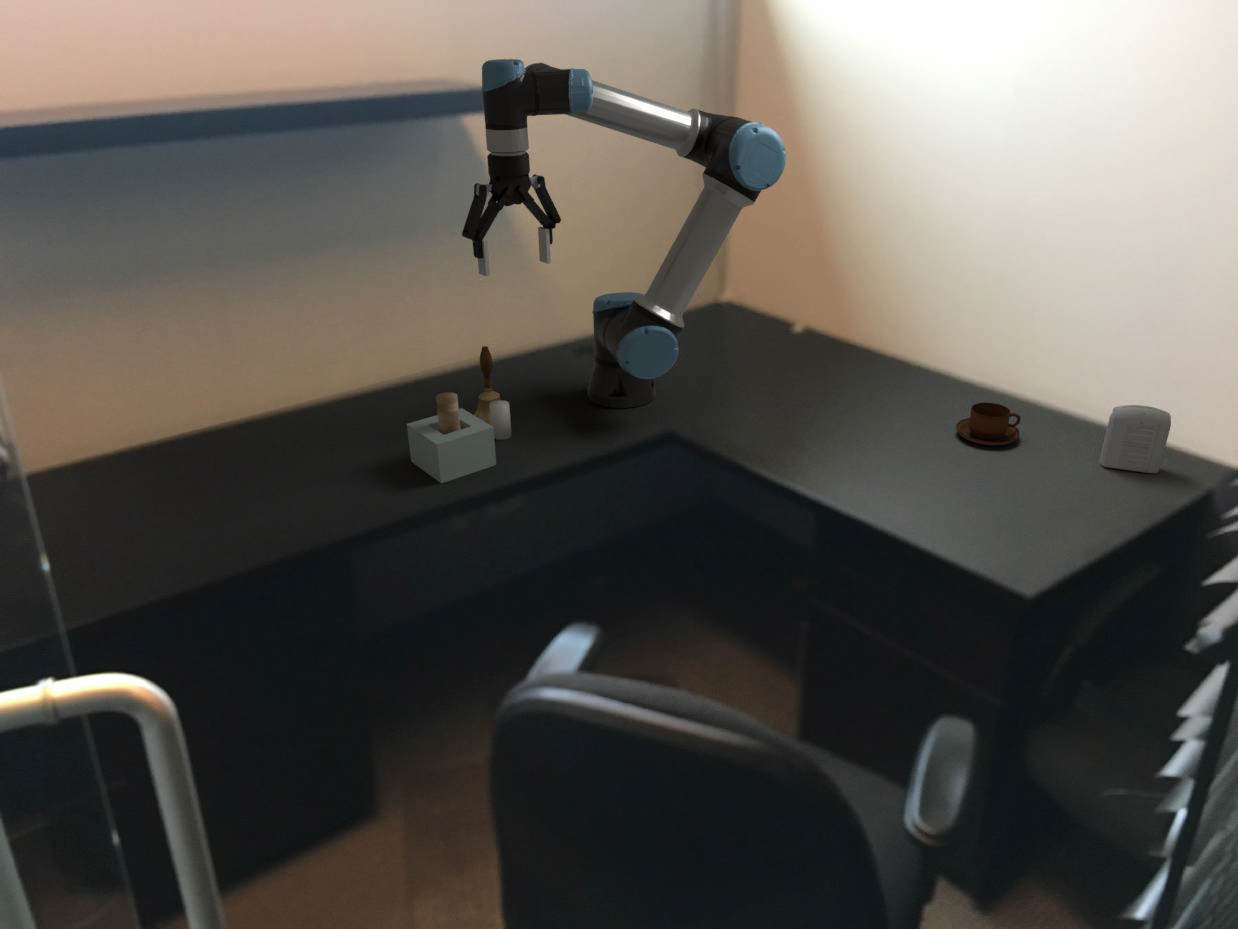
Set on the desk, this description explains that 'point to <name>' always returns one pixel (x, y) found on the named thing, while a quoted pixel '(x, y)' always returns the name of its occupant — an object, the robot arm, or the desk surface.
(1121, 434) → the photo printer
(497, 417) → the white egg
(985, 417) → the cup and saucer
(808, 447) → the desk surface
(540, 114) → the robot arm
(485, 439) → the hole block
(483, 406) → the hand bell
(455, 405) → the long pin
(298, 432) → the desk surface
